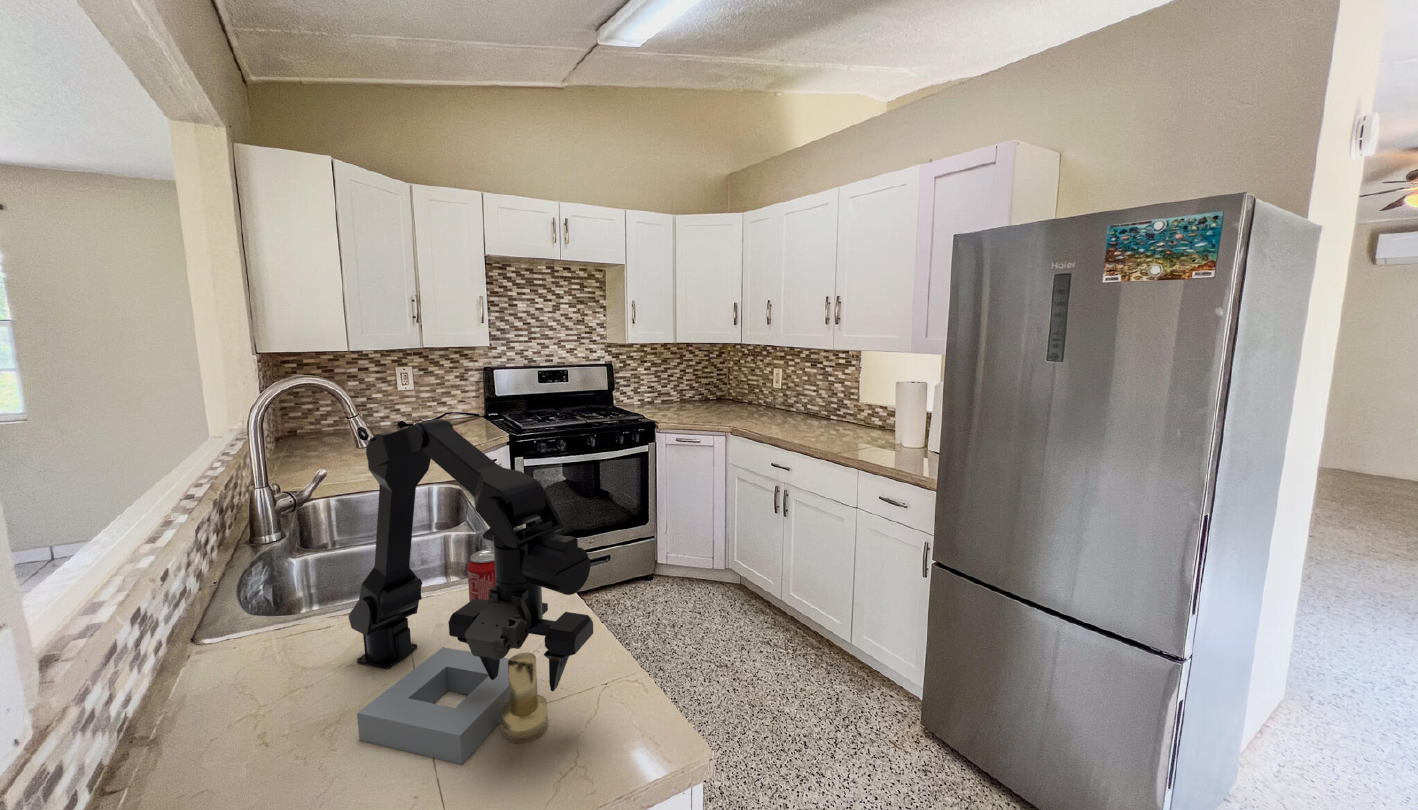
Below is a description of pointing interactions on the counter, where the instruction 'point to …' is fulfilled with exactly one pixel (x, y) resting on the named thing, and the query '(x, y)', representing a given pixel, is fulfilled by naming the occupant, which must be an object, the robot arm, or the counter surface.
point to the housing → (438, 708)
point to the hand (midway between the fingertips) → (523, 683)
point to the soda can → (481, 574)
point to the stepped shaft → (523, 702)
